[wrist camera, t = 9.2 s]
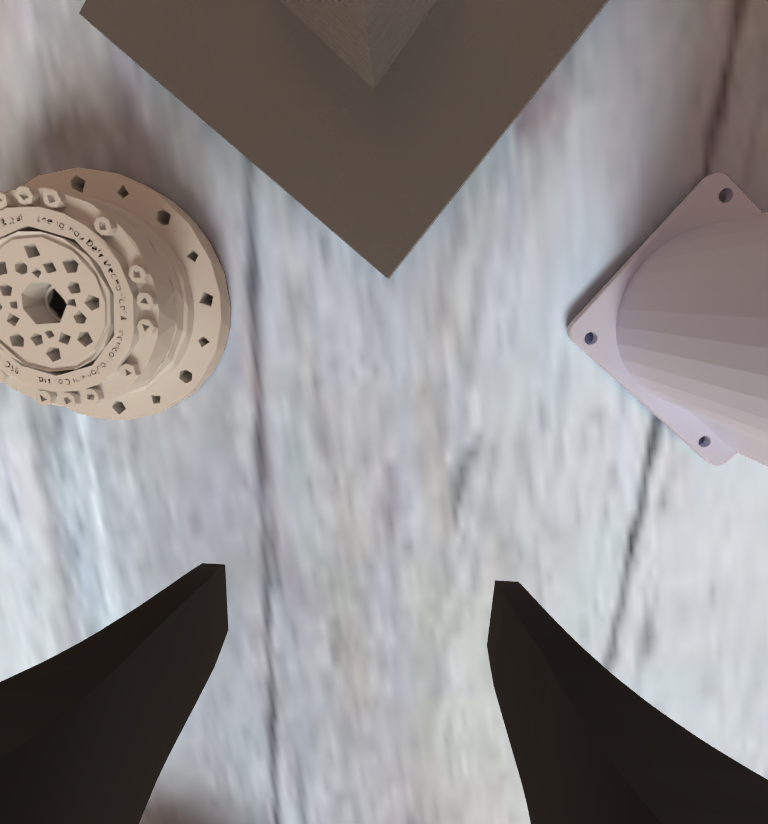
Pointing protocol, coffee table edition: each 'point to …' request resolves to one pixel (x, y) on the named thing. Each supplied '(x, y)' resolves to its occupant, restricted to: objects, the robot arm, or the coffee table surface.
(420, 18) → the collar
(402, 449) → the coffee table surface
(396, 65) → the post plate
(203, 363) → the mechanical component
